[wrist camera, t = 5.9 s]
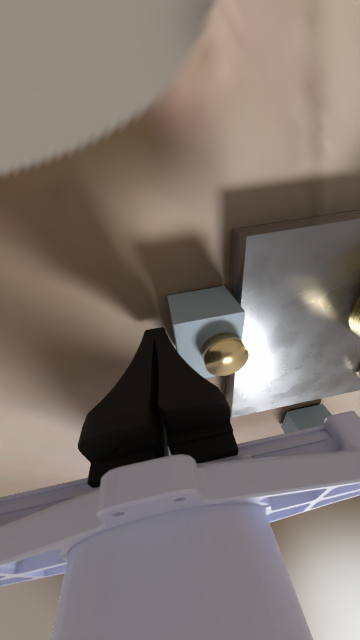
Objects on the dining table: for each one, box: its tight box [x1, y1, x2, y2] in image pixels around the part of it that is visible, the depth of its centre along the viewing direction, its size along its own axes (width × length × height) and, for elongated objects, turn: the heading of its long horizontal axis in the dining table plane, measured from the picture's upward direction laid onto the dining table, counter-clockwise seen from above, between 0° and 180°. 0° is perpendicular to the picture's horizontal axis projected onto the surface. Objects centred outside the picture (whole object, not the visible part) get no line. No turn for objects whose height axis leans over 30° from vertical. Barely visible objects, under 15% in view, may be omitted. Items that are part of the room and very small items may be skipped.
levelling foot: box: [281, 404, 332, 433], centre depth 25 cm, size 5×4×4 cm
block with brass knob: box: [167, 286, 249, 378], centre depth 13 cm, size 4×5×4 cm
